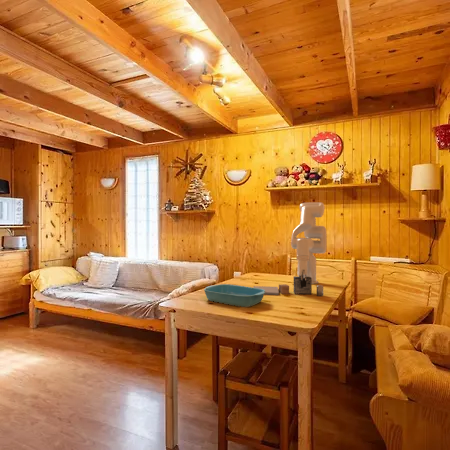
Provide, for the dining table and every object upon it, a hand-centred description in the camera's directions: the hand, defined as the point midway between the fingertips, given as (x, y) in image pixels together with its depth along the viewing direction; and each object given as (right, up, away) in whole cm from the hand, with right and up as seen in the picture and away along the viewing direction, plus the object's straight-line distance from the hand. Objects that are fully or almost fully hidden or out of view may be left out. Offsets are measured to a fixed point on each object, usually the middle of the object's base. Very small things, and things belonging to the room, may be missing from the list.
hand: (302, 285), depth 197 cm
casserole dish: (-43, -6, -20) cm, 48 cm away
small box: (0, -6, +1) cm, 6 cm away
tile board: (-22, -5, +5) cm, 24 cm away
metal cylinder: (+10, -5, -5) cm, 12 cm away
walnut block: (-11, -5, +2) cm, 13 cm away
